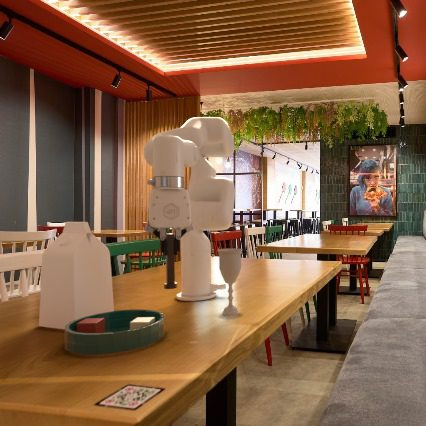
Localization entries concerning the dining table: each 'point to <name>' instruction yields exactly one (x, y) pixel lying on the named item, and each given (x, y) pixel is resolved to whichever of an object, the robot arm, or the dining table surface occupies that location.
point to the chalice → (230, 274)
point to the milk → (75, 277)
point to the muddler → (170, 263)
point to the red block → (91, 325)
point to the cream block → (141, 322)
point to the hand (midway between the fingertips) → (170, 254)
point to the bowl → (115, 333)
